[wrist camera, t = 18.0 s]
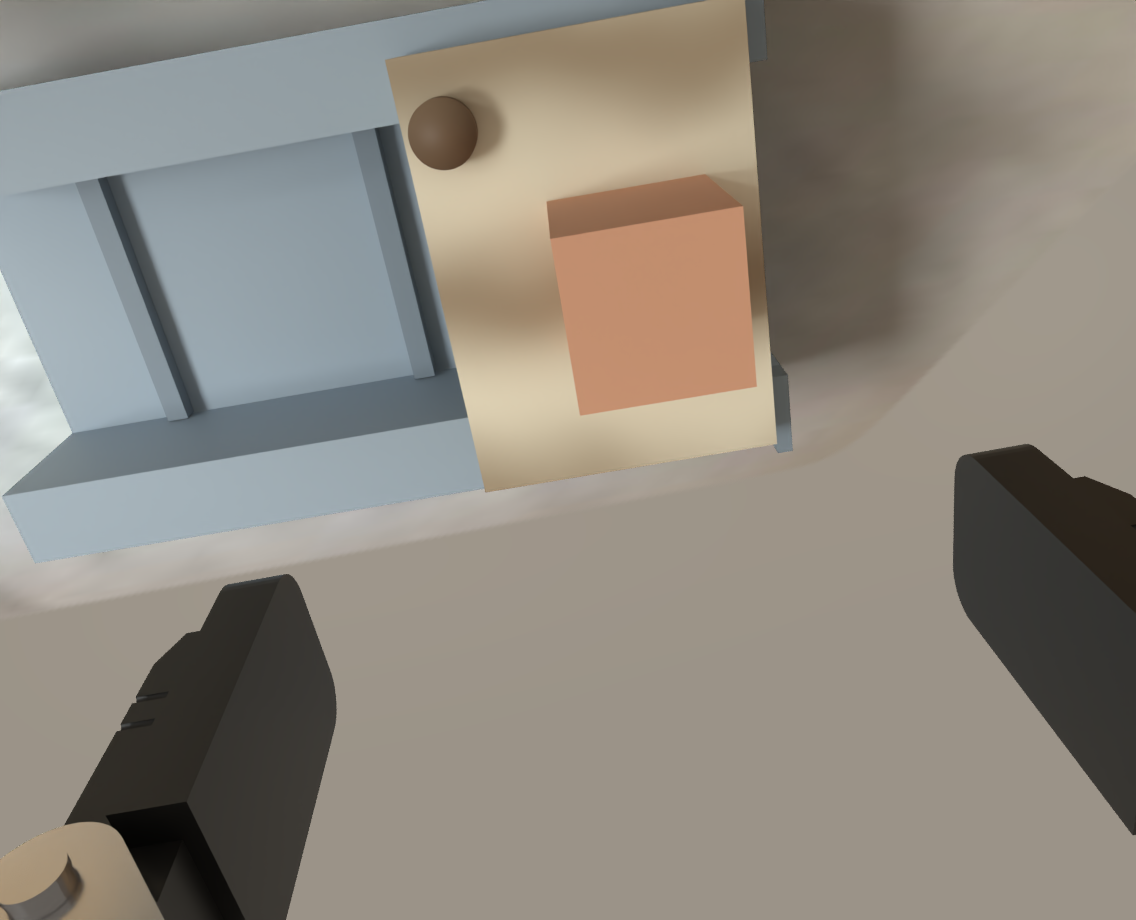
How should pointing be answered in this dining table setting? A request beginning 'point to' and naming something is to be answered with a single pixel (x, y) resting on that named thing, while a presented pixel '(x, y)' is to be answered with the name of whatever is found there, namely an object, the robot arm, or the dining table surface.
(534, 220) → the lid
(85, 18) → the dining table surface
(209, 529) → the stand
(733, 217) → the block
